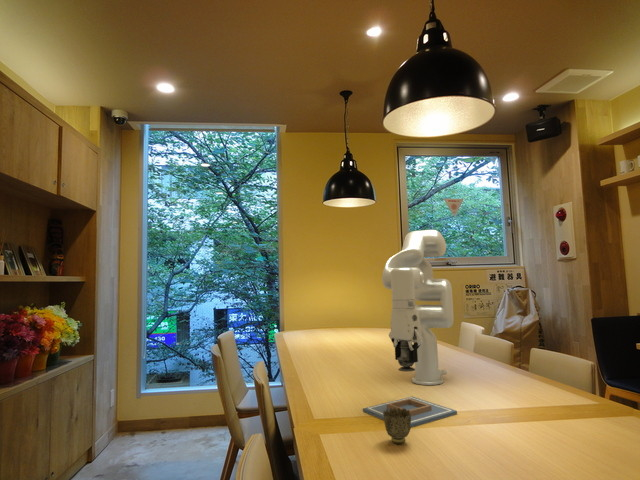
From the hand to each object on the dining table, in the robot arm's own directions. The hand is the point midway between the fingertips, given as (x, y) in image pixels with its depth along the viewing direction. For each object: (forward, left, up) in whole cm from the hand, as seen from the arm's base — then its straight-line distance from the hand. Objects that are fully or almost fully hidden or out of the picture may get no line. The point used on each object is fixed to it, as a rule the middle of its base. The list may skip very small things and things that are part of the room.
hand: (406, 360), depth 134 cm
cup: (+19, +16, -17) cm, 30 cm away
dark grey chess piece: (0, 0, -3) cm, 3 cm away
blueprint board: (0, 0, -17) cm, 17 cm away
